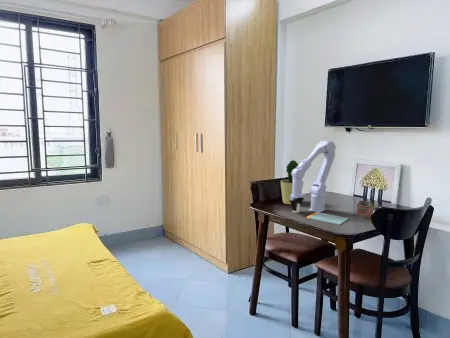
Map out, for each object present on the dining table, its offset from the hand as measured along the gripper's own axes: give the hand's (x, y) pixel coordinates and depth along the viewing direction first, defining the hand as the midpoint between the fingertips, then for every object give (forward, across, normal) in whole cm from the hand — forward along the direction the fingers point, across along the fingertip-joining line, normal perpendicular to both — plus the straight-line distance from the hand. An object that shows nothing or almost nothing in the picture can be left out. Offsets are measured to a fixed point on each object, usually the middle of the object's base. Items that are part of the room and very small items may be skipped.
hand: (296, 209), depth 201 cm
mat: (+1, +1, +21) cm, 21 cm away
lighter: (+2, -16, +35) cm, 39 cm away
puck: (+1, 0, 0) cm, 1 cm away
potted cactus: (+2, -20, -14) cm, 24 cm away
